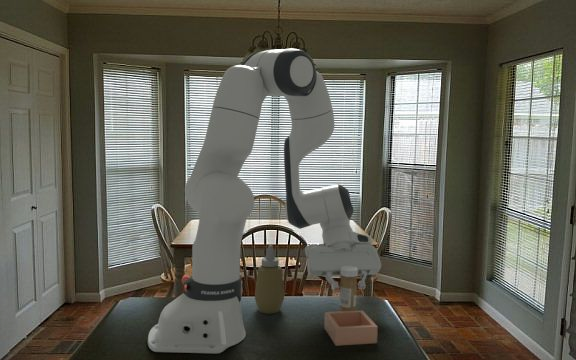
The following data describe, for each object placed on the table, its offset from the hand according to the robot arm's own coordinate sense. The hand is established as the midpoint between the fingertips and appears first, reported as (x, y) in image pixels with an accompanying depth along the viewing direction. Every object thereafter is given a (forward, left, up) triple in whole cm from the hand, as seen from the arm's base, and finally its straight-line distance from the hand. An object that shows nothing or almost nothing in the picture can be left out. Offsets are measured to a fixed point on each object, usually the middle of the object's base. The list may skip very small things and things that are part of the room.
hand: (349, 288), depth 123 cm
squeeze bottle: (-20, +8, -8) cm, 23 cm away
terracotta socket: (-3, -10, -8) cm, 13 cm away
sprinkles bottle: (0, +1, -8) cm, 8 cm away
